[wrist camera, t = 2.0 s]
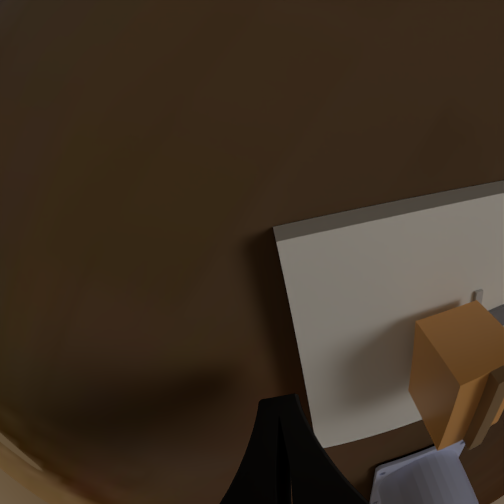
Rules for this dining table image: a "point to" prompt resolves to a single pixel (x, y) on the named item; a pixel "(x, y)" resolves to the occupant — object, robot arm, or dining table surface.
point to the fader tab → (458, 374)
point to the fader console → (384, 297)
